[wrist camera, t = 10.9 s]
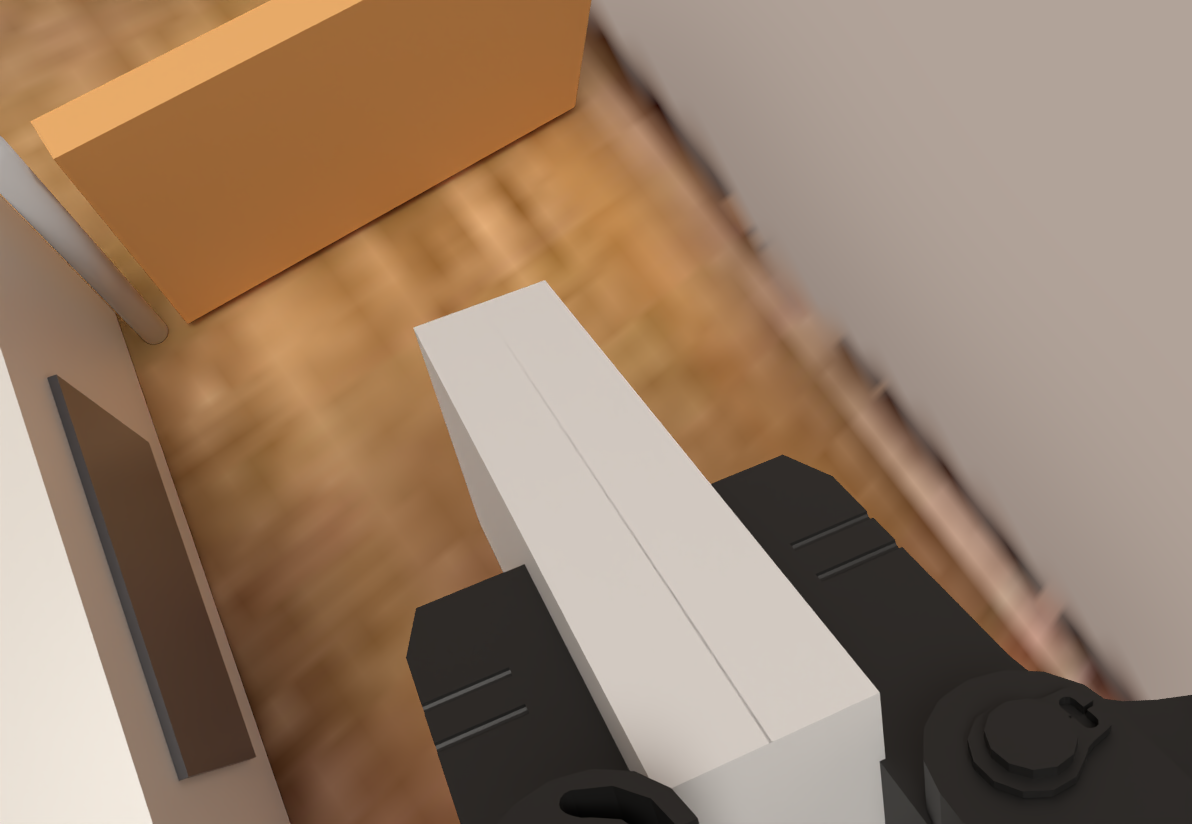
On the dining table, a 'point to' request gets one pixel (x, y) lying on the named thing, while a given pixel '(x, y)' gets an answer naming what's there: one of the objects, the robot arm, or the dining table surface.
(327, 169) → the hatch
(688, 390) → the dining table surface
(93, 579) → the case
